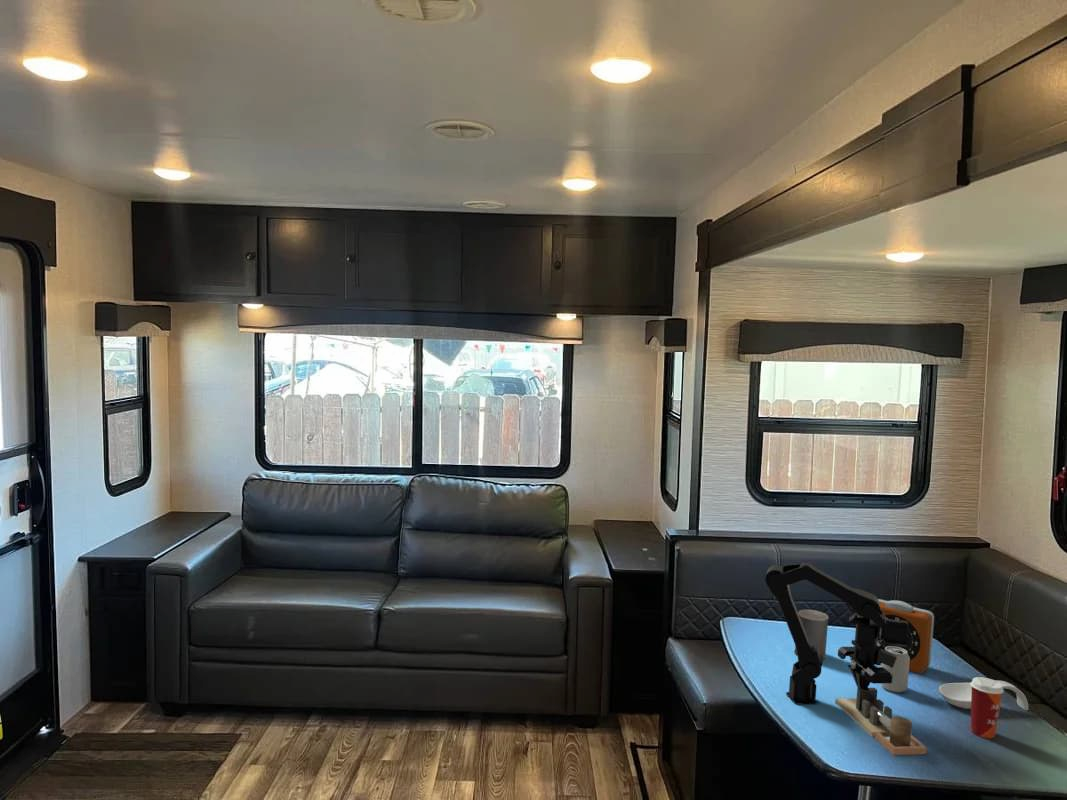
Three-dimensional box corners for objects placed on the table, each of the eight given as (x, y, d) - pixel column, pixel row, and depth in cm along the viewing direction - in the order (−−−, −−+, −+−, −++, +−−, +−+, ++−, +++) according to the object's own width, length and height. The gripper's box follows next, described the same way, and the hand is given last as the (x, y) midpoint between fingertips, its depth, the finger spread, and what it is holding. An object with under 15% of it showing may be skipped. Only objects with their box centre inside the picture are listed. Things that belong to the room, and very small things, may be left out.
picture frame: (892, 754, 195) (893, 748, 195) (875, 738, 203) (875, 732, 203) (926, 754, 196) (926, 747, 196) (907, 737, 204) (908, 731, 204)
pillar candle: (788, 651, 259) (791, 607, 258) (810, 647, 264) (813, 604, 262) (809, 662, 251) (813, 617, 249) (832, 658, 255) (835, 614, 253)
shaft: (883, 732, 203) (884, 711, 202) (855, 708, 216) (857, 687, 216) (901, 732, 204) (902, 710, 203) (872, 707, 217) (874, 687, 217)
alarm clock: (862, 658, 256) (866, 597, 254) (871, 650, 262) (875, 591, 261) (923, 675, 244) (928, 611, 242) (930, 667, 250) (935, 605, 249)
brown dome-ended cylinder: (895, 748, 198) (897, 726, 197) (886, 738, 202) (887, 716, 202) (913, 748, 198) (915, 726, 197) (903, 738, 203) (905, 716, 202)
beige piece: (871, 736, 204) (872, 716, 203) (835, 702, 223) (836, 684, 222) (907, 735, 205) (908, 716, 205) (868, 702, 224) (869, 683, 223)
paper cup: (999, 743, 203) (1003, 691, 202) (965, 734, 207) (970, 683, 206) (999, 731, 210) (1004, 681, 208) (967, 723, 214) (971, 673, 212)
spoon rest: (950, 713, 219) (952, 688, 219) (930, 694, 231) (932, 671, 231) (1035, 717, 219) (1038, 693, 218) (1011, 698, 231) (1013, 675, 230)
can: (910, 695, 229) (913, 655, 229) (883, 692, 231) (886, 652, 230) (903, 684, 237) (906, 646, 236) (877, 681, 238) (880, 643, 237)
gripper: (913, 653, 209) (908, 709, 210) (874, 627, 227) (870, 678, 228) (874, 653, 207) (869, 710, 208) (838, 627, 226) (835, 679, 227)
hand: (862, 693), depth 218 cm, fingers closed
